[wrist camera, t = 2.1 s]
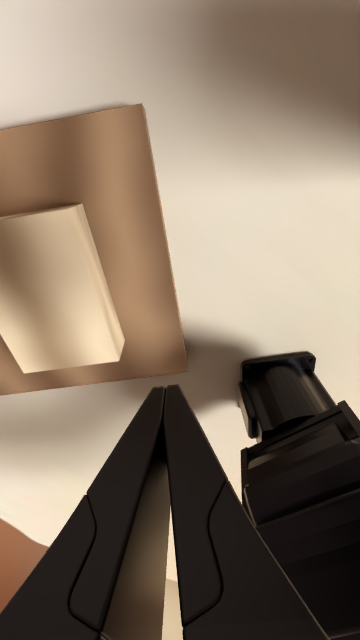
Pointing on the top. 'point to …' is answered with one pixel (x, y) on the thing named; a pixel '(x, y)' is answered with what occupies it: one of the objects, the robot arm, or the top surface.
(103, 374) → the bench board
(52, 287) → the birch plate
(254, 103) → the top surface
